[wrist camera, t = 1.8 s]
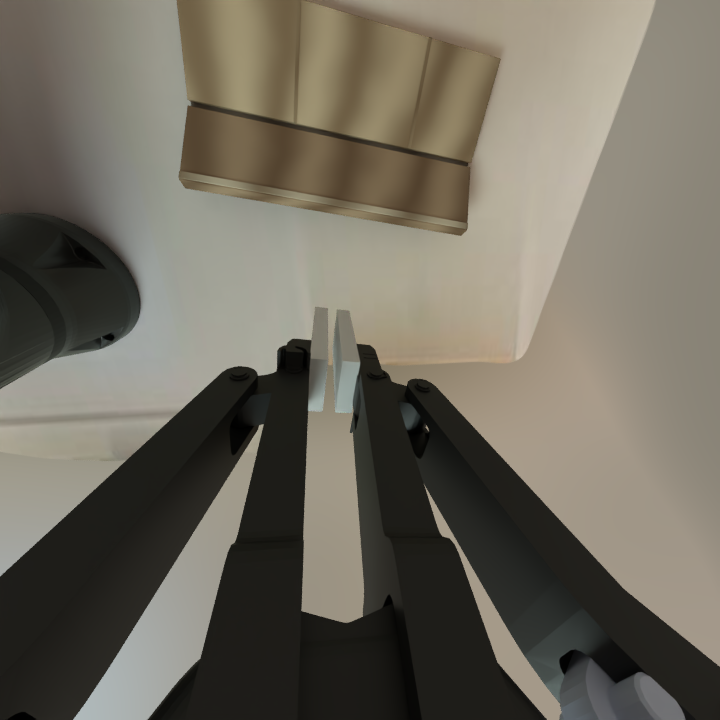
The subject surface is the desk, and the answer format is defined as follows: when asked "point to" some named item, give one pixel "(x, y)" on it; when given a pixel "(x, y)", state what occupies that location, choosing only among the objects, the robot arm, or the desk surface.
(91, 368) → the desk surface
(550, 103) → the desk surface
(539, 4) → the desk surface
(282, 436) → the robot arm
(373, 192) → the click plank
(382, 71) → the laid plank
